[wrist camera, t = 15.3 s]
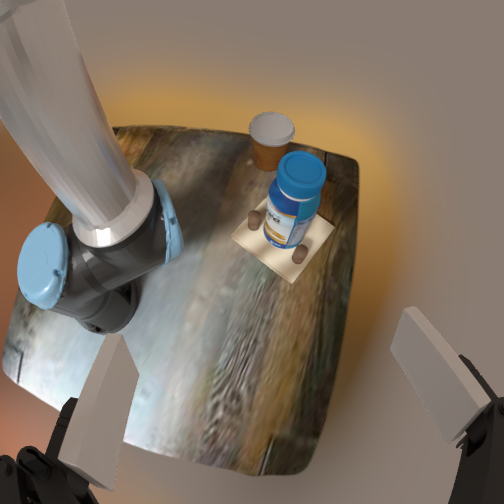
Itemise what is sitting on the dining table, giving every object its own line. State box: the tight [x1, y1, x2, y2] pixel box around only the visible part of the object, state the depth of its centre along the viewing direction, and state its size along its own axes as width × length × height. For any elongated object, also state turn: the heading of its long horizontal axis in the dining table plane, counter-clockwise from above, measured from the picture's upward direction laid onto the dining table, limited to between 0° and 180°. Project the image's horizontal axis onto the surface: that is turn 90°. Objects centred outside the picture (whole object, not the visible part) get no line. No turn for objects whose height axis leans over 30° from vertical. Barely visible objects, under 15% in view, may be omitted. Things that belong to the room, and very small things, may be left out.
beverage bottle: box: [263, 151, 326, 249], centre depth 44 cm, size 8×8×20 cm
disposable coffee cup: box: [249, 112, 295, 171], centre depth 56 cm, size 10×10×12 cm
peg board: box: [231, 196, 334, 284], centre depth 53 cm, size 15×15×6 cm
